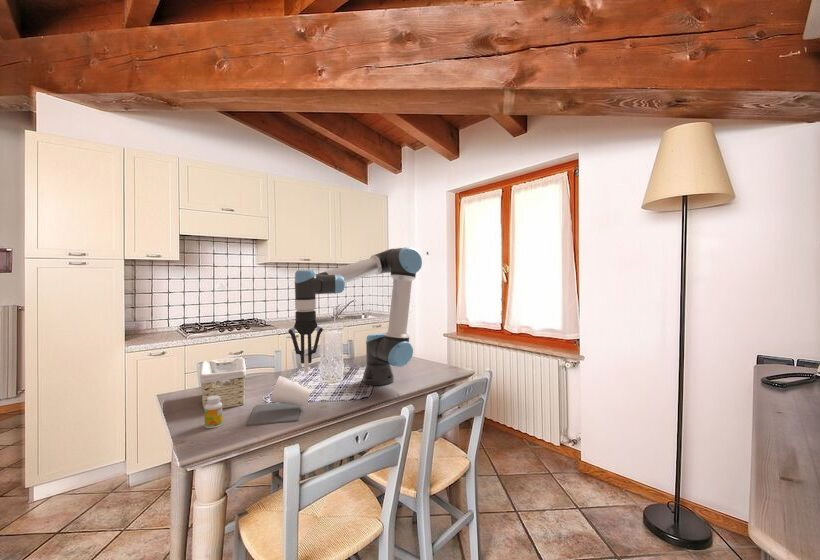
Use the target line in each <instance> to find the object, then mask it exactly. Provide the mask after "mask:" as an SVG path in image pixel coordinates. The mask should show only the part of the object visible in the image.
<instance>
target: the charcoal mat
mask: <svg viewBox="0 0 820 560" xmlns="http://www.w3.org/2000/svg"><path fill="white" fill-rule="evenodd" d="M300 410H301V406H299V405H292V404H285V403H278V402H276V403H275V402H274V403H265V404H255V406H254V408H253V410H252V412H251V414H250V416H249V418H248V420H247V422H246V427H247V426H258V425H268V424H269V425H271V424H278V423H280V424H281V423H290V422H299V418H300Z"/></svg>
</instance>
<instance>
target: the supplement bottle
mask: <svg viewBox="0 0 820 560" xmlns="http://www.w3.org/2000/svg"><path fill="white" fill-rule="evenodd" d="M219 401H220V396H210V397H208V398H207V403H208V404H206V405H205V410H204V427H205V428H206V429H215V428H219V427H221V426H222V425H223V422H224V419H223V408H222V403H221V402H219Z"/></svg>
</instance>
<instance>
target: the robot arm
mask: <svg viewBox="0 0 820 560" xmlns="http://www.w3.org/2000/svg"><path fill="white" fill-rule="evenodd" d="M422 266H423V259H422V256H421V254H420V253H419V251H418V250H417V249H415V248H414V247H405V246H404V247H399V248H398V247H397V248H390V249H387V250H384V251H380V252H378V253H376V254H372V255H370V257H369V258H367V259H362V260H360V261H359V260H358V261H356V262H353V263H350V264H346V265H342V266H340V267H335V268H333V269H329V270H326V271H323V272H319V273H316V271H315V270H313V269H310V270H309V269H307V270H306V269H302V270H301V269H299V270H296V271H295V273H294V291H295V292H294V295H295V297H294V307H295V308H294V309H295V310H296V311H295V312H294V313H295V316H294V317H295V318H294V320H295V323H294V325H293V326H292V328H289V329H288V333H289V335H290V337H291V339H292V343H293V347H294V351H295V354H296V355H300V363H301V364H303V366H304V367H303V369H304V372H303V373H304V374H306V373H309V367H310V366H309V365H310V364H311V363H312V359H313V358H312V355H313V354H316V353H317V349H318V345H319V341H320V338H321V337H320V336H321V334H322V332H323V330H324V329H323V328H324V327H322V326H319V325H318V323H317V314H316V313H317V312H316V307H317V304H316V303H317V301H316V300H317V299H316V298H317V297H316V295H328V294H329V295H330V294H334V295H335V294H341V293H343V292H344V290H345V288H346V287H345V286H346V283H350V282H352V281H356V280H359V279H362V278H366V277H368V276H371V275H376V276H377V275H381V274H387V273H388V274H389V273H390V277H391V278H392V281H393V282H392V290H391V292H392V293H391V298H390V299H391V300H390V308H389V316H388V317H389V320H388V328H387V329H388V330H387V332H381V333H380V332H379V333H371V334H368V335H367V336H366V339H365V340H366V342H365V344H366V345H365V348H366V351H365V352H366V353H365V354H366V355H365V356H366V362H365V363H366V365H365V368H364V372H363V373H362V374H363V375H362V382H363V383H364V384H366V385H370V386H385V385H389V384H392V383H393V382H394V380H395V378H394V377H395V376H394V373H393V370H392V366H393V367H398V368H401V367H404V366H406V365H407V364H408V363H409V362H410V361H411V359H412V358H413V355H414V347H413V346H412V344H411V343H410V336H409V334H408V333H407V332H408V322H409V313H410V303H411V301H410V300H411V293H412V292H411V291H412V285H413V284H412V282H413V281H414V280H415V279H416V276H417V273H418V272H420V270H421V268H422ZM315 330H316V331H315ZM296 331H297V332H298V334H299V335H300V348H299V344H298V341H297V340H298V339H297V337H296V336H297V335H296ZM314 332H316V336H315V340H314V345H313V349H312V334H313V333H314ZM305 335H306V336H307V353H305Z"/></svg>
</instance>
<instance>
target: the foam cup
mask: <svg viewBox="0 0 820 560" xmlns="http://www.w3.org/2000/svg"><path fill="white" fill-rule="evenodd" d="M311 392H312V389H310V388H309V387H306V386H303V384H299V383H297V382H295V381H294V380H291V379H288V378H287V377H286V376H285V377H284V376H281V375H279V377H278V378H277V381H276V383H275V385H274V388H273V389H272V392H271V396H270V399H269V401H270V402H273V403H274V404H275V403H285V404H292V405H299V406H300V407H306V406H307V403H308V400H309V398H310V394H311Z"/></svg>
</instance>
